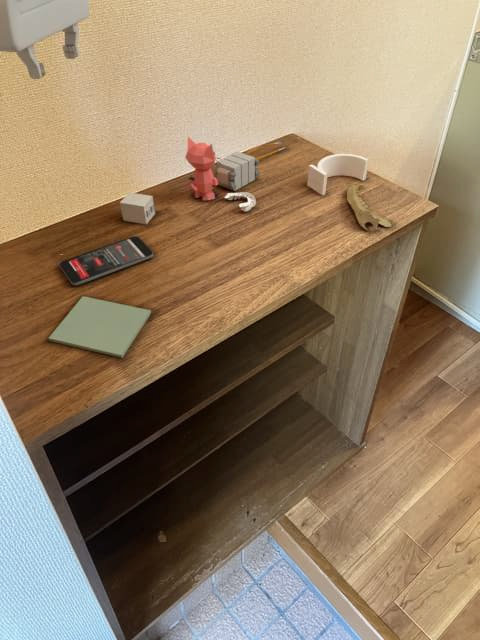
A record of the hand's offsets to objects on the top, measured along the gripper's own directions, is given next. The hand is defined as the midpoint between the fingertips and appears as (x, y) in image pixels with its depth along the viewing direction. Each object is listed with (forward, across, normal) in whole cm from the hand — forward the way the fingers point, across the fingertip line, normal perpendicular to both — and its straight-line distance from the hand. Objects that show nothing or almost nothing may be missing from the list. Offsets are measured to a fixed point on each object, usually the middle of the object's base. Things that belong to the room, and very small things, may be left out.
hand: (56, 67), depth 79 cm
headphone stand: (+28, -27, +36) cm, 53 cm away
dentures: (+30, -17, +23) cm, 42 cm away
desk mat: (+30, +23, +14) cm, 40 cm away
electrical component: (+25, -32, +22) cm, 46 cm away
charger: (+29, -7, +5) cm, 30 cm away
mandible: (+27, -23, +43) cm, 56 cm away
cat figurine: (+30, -18, +15) cm, 37 cm away
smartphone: (+29, +8, +6) cm, 31 cm away
